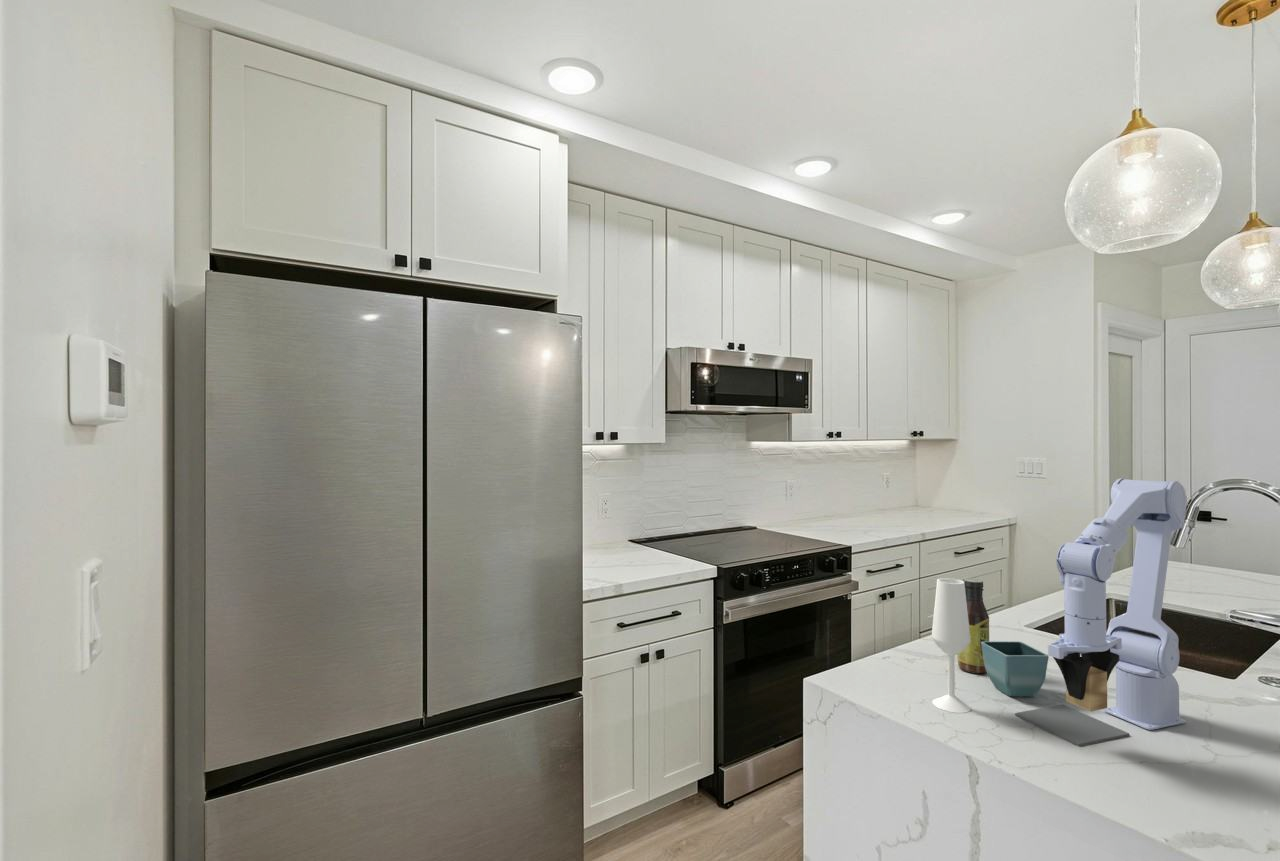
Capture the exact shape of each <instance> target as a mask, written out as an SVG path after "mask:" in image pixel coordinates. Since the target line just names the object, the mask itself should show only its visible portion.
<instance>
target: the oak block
mask: <svg viewBox="0 0 1280 861" xmlns="http://www.w3.org/2000/svg"><path fill="white" fill-rule="evenodd" d="M1065 696H1066V697H1065V698H1066V699H1065V701H1066V702H1067V703H1069V704H1072V705H1074V706H1077V707H1078V708H1081V709H1082V710H1083V709H1084V710H1085V711H1087V712H1094V711H1099V710H1104V709H1106V708H1108V682H1107V672H1106V671H1103V670H1100V669H1097V668H1095V667H1092V666H1091V667H1090V669H1089V672H1088V675H1087V679H1086V688H1085V695H1084V699H1083V700H1079V699H1077V698H1074V697H1072V696H1069V693H1068V690H1067V687H1066V686H1065Z"/></svg>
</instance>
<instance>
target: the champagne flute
mask: <svg viewBox="0 0 1280 861" xmlns="http://www.w3.org/2000/svg"><path fill="white" fill-rule="evenodd" d="M935 589H936V590H935V597H934V598H935V599H934V607H933V608H934V609H933V617H932V628H931V638H932V641H933V642H934V643H935V645H936V646H937V647H938V648H939V649H941V650H940V651H942V652H943V653H944V654H946V655H947V694H945V695H943V696H939V697H937V698H936V697H935V698H934V699H932V703H931V704H932V705H933V706H935V707H936V708H938V709H940V710H943V711H945V712H950V713H957V714H964V713H969V712H970V711H972V710H971V709H972V708H971V706H970V705H969V704H968V703H966V702H965V701H964V700H962V699H961V698H959V697H957V696H956V695H955V691H956V690H955V687H956V686H955V685H956V684H955V675H956V674H955V656H958V654H959V653H960V652H962V651H963V650H965V649H966V648H967V647H968V645H969V644H970V641H971V639H970V630H969V621H968V611H967V602H966V593H965V584H964V581H963V580H961V579H957V578H947V577H944V578H943V577H941V578H937V579H936V587H935Z"/></svg>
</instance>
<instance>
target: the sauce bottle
mask: <svg viewBox="0 0 1280 861" xmlns="http://www.w3.org/2000/svg"><path fill="white" fill-rule="evenodd" d="M962 581H964V584H965V593H966V602H967V611H968V621H969V630H970V639H971V641H970V644H969V645H968V647H967V648H966V649H965V650H963V651H962V652H960V653H959V654H957V664H958V668H959V669H961V670H963V671H965V672H968V673H972V674H987V672H986V669H985V665H984V659H983V652H982V644H981V642H984V641H990V616H989V614H988V611H987V608H986V606H985V603H984V598H983V588H984V581H983V580H980V579H976V578H964V579H962Z"/></svg>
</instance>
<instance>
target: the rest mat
mask: <svg viewBox="0 0 1280 861" xmlns="http://www.w3.org/2000/svg"><path fill="white" fill-rule="evenodd" d="M1014 715H1015V716H1016V717H1018V718H1020V719H1022V720H1023V721H1026V722H1029V723H1031V724H1033V725H1034V726H1037V727H1038V728H1040V729H1043V730H1044V731H1046V732H1049V733H1050V734H1053V735H1055V736H1057V737H1058V738H1061V739H1063V740H1065V741H1067V742H1069V743H1071V744H1073V745H1075V746H1077V747H1082V746H1086V745H1092V744H1096V743H1097V744H1098V743H1100V742H1101V743H1102V742H1105V741H1106V742H1107V741H1110V740H1115V739H1121V738H1124V737H1130V733H1129V732H1127V731H1125V730H1123V729H1120V728H1118V727H1115V726H1113V725H1111V724H1108V723H1106V722H1104V721H1101V720H1099V719H1098V718H1095V717H1093V716H1091V715H1088V714H1086V713H1083V712H1081V711H1079V710H1077V709H1074V708H1072V707H1070V706H1067V705H1065V704H1057V705H1052V706H1047V707H1041V708H1036V709H1030V710H1029V709H1028V710H1024V711H1019V712H1014Z"/></svg>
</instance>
